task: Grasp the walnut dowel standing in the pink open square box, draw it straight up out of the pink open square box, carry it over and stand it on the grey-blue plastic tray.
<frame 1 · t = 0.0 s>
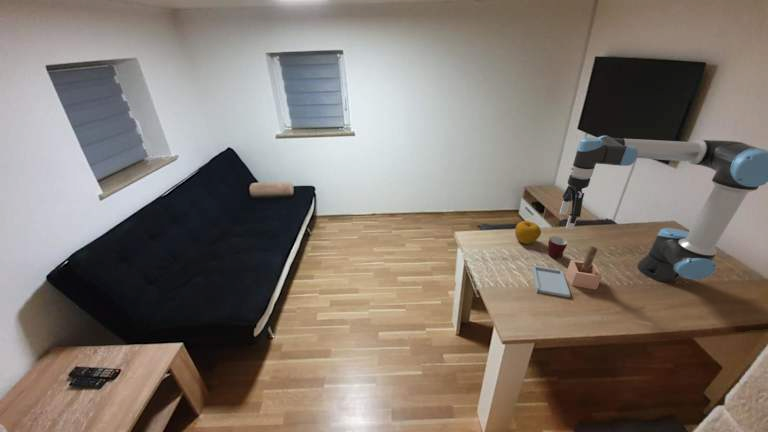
hand: (565, 221, 134), 28 cm above the table, fingers open, 13 cm apart
tray: (549, 283, 139), on the table
dowel: (580, 280, 140), point 1 cm above the table, touching pink open square box
mug: (554, 258, 157), on the table
pink open square box: (580, 281, 140), on the table
apple: (525, 241, 171), on the table
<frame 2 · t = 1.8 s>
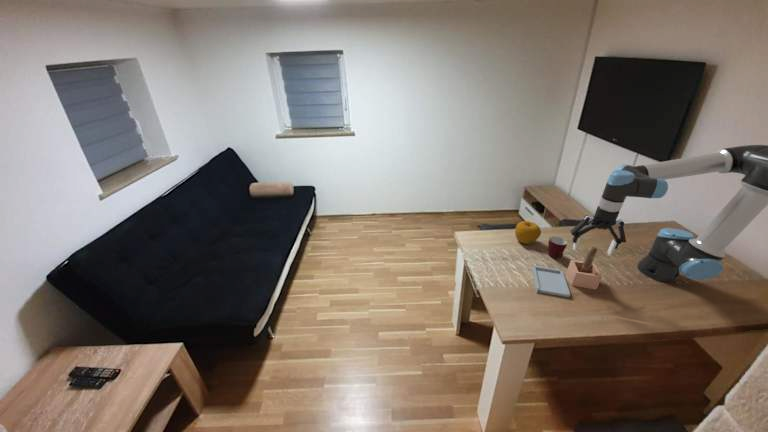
hand: (591, 251, 132), 17 cm above the table, fingers open, 13 cm apart
nothing on the table moved.
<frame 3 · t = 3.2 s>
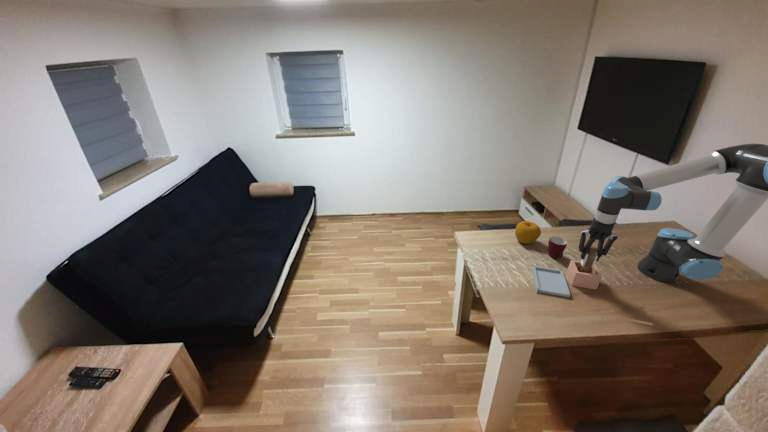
hand: (586, 265, 135), 10 cm above the table, fingers closed on dowel, 3 cm apart
dowel: (580, 280, 140), point 1 cm above the table, touching pink open square box, gripper
everything else where it was.
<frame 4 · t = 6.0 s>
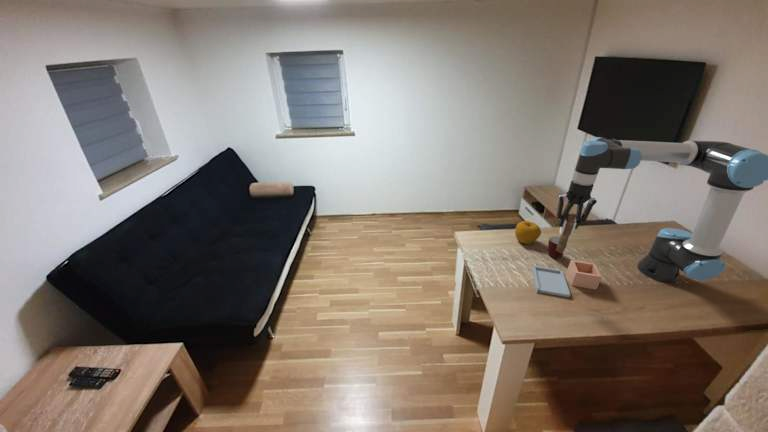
hand: (565, 233, 127), 27 cm above the table, fingers closed on dowel, 3 cm apart
dowel: (559, 250, 131), point 18 cm above the table, touching gripper
everything else where it was.
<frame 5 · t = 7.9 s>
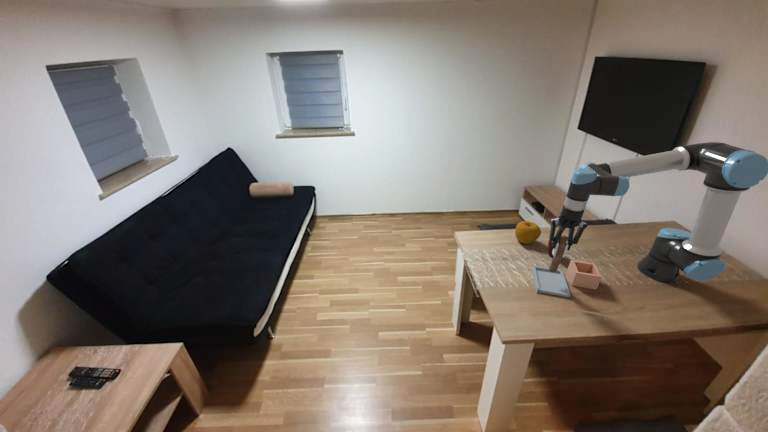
hand: (558, 254, 132), 16 cm above the table, fingers closed on dowel, 3 cm apart
dowel: (552, 270, 136), point 7 cm above the table, touching gripper
everything else where it was.
when the fingers open (11 cm above the table, at t = 9.1 s): dowel drops 2 cm, resting on tray.
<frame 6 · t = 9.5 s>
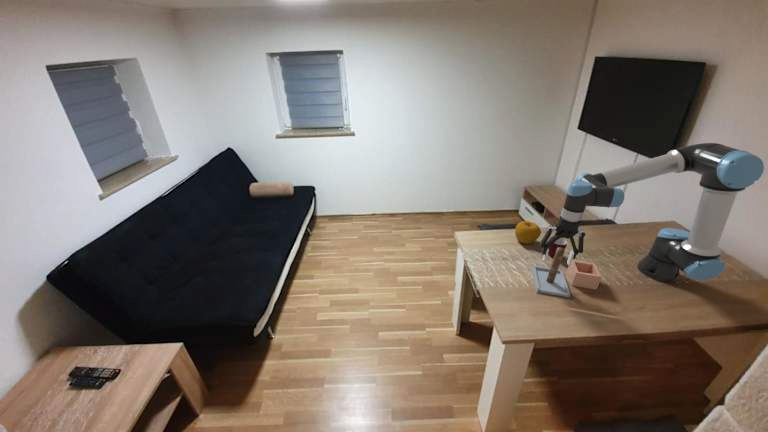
hand: (556, 262, 134), 12 cm above the table, fingers open, 9 cm apart
dowel: (550, 281, 139), point 1 cm above the table, touching tray
everything else where it was.
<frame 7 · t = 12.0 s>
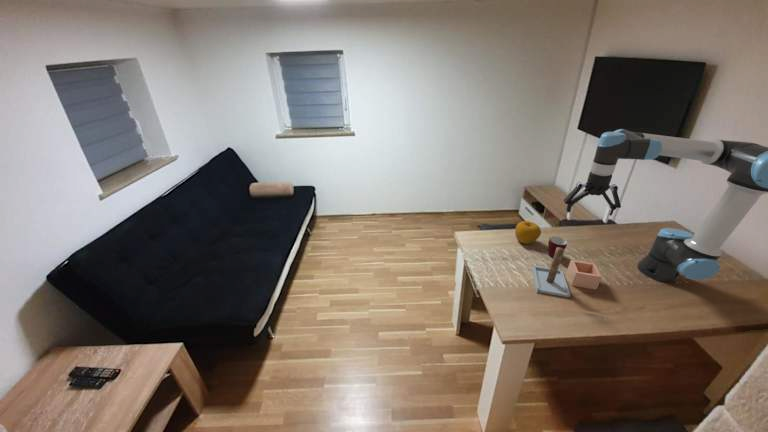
hand: (586, 220, 128), 31 cm above the table, fingers open, 13 cm apart
nothing on the table moved.
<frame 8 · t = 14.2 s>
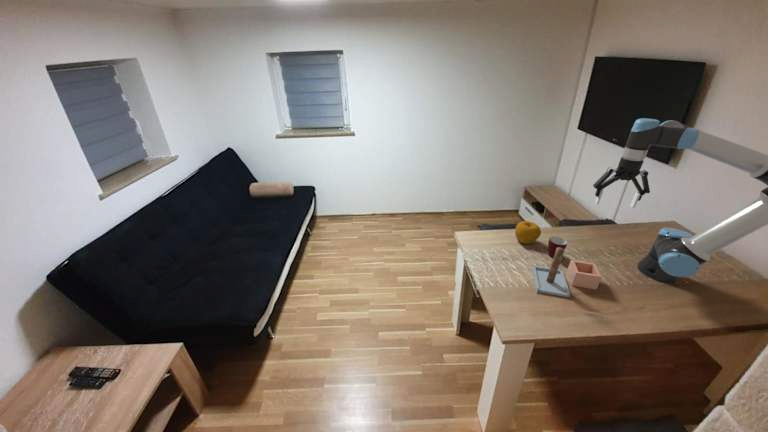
hand: (614, 205, 133), 35 cm above the table, fingers open, 13 cm apart
nothing on the table moved.
at the end: dowel inside the target area on the tray (0.1 cm from its centre), point 1.0 cm above the tray's base; the gripper is holding nothing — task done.
